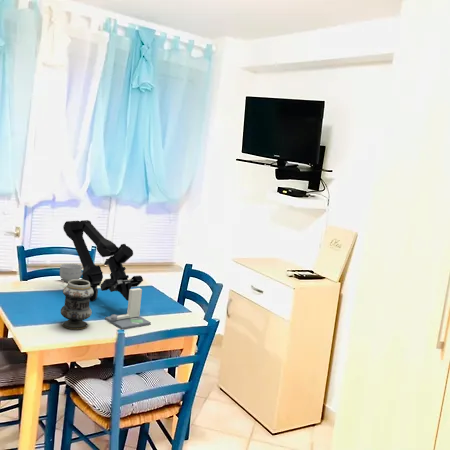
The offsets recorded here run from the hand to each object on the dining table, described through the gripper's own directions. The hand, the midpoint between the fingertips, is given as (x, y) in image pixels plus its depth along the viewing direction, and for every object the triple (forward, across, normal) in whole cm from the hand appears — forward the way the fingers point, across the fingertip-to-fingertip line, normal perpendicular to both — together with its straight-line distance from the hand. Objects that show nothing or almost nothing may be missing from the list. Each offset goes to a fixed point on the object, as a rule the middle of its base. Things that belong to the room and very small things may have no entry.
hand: (128, 300), depth 232 cm
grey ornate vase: (+5, +24, -6) cm, 26 cm away
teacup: (-34, -5, -45) cm, 57 cm away
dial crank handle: (+7, +4, -2) cm, 8 cm away
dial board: (+9, +3, -1) cm, 10 cm away
